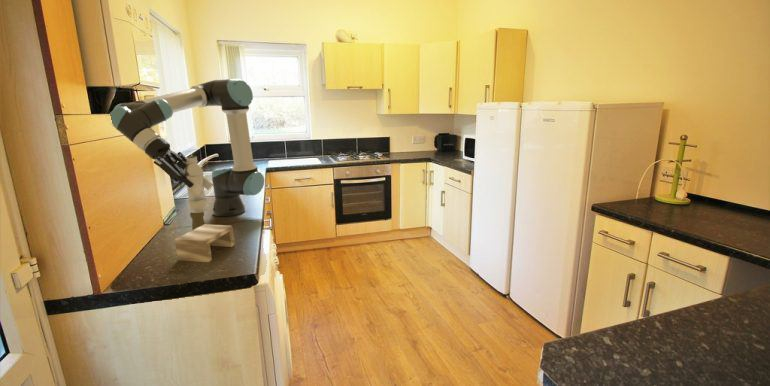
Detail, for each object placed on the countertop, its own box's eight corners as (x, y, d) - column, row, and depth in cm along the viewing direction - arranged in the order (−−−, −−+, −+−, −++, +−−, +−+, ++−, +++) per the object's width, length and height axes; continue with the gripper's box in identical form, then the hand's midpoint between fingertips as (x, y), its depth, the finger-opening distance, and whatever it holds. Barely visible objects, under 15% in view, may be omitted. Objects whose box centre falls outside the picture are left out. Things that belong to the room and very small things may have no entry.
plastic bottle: (188, 216, 126) (179, 159, 121) (190, 210, 132) (181, 156, 127) (208, 213, 129) (200, 158, 124) (209, 208, 135) (201, 155, 130)
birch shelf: (207, 243, 143) (204, 224, 141) (234, 244, 141) (232, 225, 139) (178, 260, 128) (174, 239, 126) (208, 262, 126) (205, 241, 124)
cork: (201, 238, 149) (197, 212, 146) (188, 237, 150) (185, 212, 148) (211, 233, 155) (207, 208, 152) (198, 232, 156) (195, 208, 153)
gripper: (163, 148, 135) (212, 190, 139) (127, 156, 116) (184, 204, 120) (175, 134, 133) (224, 176, 137) (140, 139, 115) (198, 188, 118)
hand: (205, 189), depth 128 cm, fingers closed on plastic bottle, 6 cm apart
